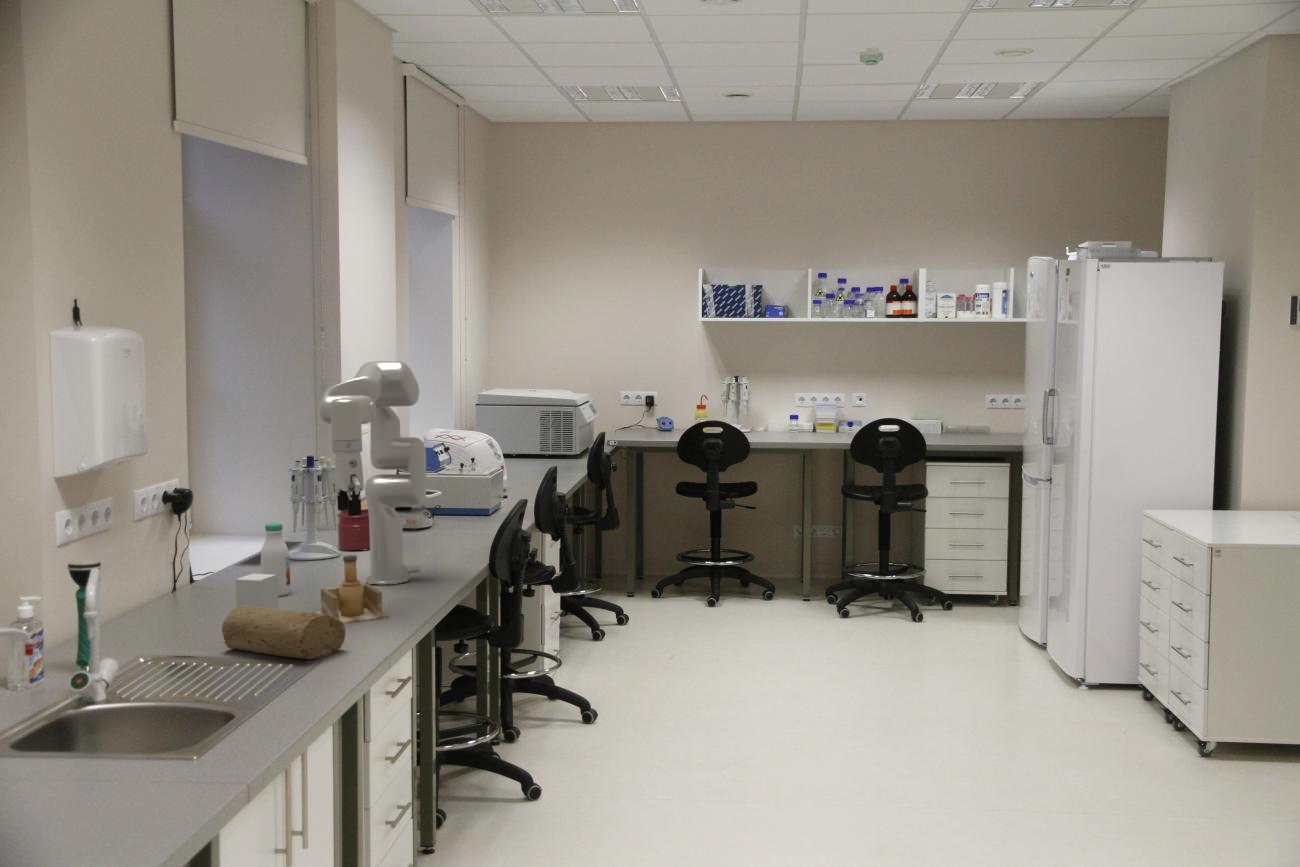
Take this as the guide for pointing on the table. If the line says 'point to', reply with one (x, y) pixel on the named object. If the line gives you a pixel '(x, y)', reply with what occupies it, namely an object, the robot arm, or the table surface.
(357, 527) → the canister
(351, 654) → the table surface
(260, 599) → the supplement box
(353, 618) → the u rest
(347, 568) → the bottle
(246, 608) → the core sample
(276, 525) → the milk bottle
